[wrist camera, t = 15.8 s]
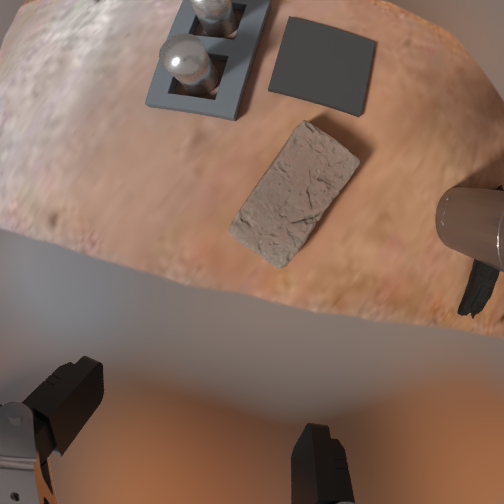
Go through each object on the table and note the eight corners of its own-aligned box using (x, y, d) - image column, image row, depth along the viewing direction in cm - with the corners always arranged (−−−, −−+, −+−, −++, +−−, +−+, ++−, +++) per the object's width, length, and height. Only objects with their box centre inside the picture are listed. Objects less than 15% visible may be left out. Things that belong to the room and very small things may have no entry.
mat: (372, 44, 31) (374, 41, 30) (358, 117, 34) (360, 115, 33) (288, 19, 31) (289, 16, 30) (268, 91, 34) (268, 88, 33)
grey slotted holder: (270, 5, 31) (270, -2, 29) (235, 121, 35) (233, 117, 33) (190, -3, 31) (187, -9, 29) (150, 107, 36) (144, 103, 34)
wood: (482, 318, 39) (491, 325, 36) (453, 315, 39) (463, 323, 36) (513, 192, 34) (524, 194, 31) (486, 180, 34) (497, 180, 32)
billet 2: (239, 14, 32) (231, -26, 22) (232, 39, 33) (221, 1, 23) (208, 12, 32) (192, -27, 22) (199, 36, 33) (180, 0, 23)
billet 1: (222, 66, 34) (207, 34, 24) (213, 97, 35) (195, 72, 25) (189, 62, 34) (166, 32, 24) (180, 92, 35) (153, 69, 25)
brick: (281, 265, 39) (282, 275, 35) (227, 229, 39) (221, 235, 34) (353, 161, 36) (364, 158, 31) (300, 123, 35) (304, 115, 31)
